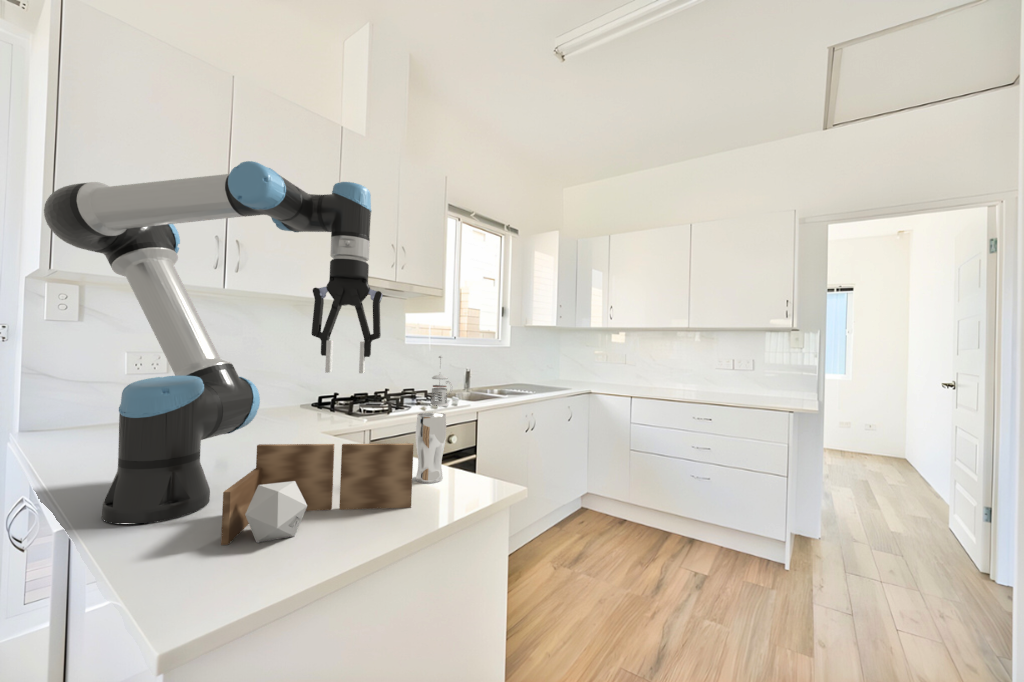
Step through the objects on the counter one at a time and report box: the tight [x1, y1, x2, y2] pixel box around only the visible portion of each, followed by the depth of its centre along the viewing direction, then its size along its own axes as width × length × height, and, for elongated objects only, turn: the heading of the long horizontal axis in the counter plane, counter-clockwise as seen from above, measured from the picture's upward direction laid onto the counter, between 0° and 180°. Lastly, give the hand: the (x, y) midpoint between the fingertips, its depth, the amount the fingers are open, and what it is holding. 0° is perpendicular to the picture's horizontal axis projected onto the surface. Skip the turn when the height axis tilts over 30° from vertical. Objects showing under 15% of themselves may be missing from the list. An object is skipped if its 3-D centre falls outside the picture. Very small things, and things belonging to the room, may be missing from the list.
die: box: [245, 481, 307, 544], centre depth 71 cm, size 8×9×10 cm
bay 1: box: [220, 443, 335, 546], centre depth 75 cm, size 13×14×12 cm
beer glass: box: [415, 411, 447, 484], centre depth 103 cm, size 7×7×15 cm
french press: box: [429, 355, 453, 407], centre depth 225 cm, size 10×12×25 cm
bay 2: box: [338, 442, 415, 511], centre depth 84 cm, size 13×1×12 cm, turn 101°
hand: (345, 372), depth 91 cm, fingers open, 6 cm apart
